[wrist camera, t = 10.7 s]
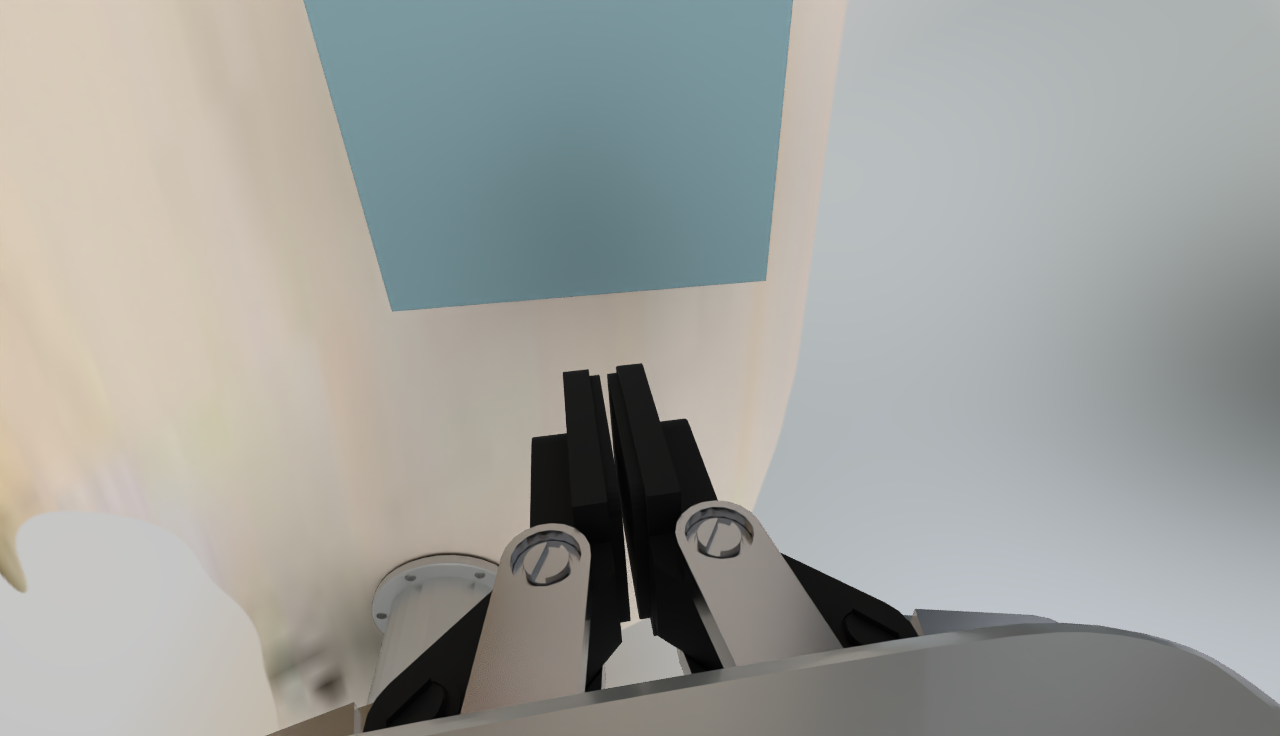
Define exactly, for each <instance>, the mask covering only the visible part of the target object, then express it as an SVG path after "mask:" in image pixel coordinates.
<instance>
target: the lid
mask: <svg viewBox="0 0 1280 736" xmlns="http://www.w3.org/2000/svg"><path fill="white" fill-rule="evenodd" d="M792 3H793V0H304V4H305V7H306V11H307V14H308V18H309V21H310V25H311V28H312V32H313V35H314V39H315V42H316V46H317V49H318V53H319V57H320V60H321V64H322V67H323V71H324V74H325V78H326V81H327V85H328V88H329V92H330V95H331V99H332V102H333V106H334V109H335V113H336V116H337V120H338V123H339V127H340V130H341V134H342V137H343V141H344V144H345V148H346V151H347V155H348V158H349V162H350V165H351V169H352V172H353V176H354V179H355V183H356V186H357V190H358V193H359V197H360V200H361V204H362V207H363V211H364V214H365V218H366V221H367V225H368V228H369V232H370V235H371V239H372V242H373V246H374V250H375V253H376V257H377V260H378V264H379V267H380V271H381V274H382V278H383V281H384V285H385V288H386V292H387V295H388V299H389V302H390V306H391V309H392V311H403V310H415V309H427V308H440V307H452V306H464V305H476V304H488V303H500V302H512V301H524V300H537V299H549V298H561V297H573V296H585V295H597V294H609V293H621V292H633V291H646V290H658V289H670V288H682V287H694V286H706V285H718V284H730V283H743V282H755V281H766V273H767V263H768V252H769V242H770V231H771V221H772V211H773V200H774V190H775V180H776V169H777V159H778V149H779V138H780V128H781V117H782V107H783V97H784V86H785V76H786V66H787V55H788V45H789V35H790V24H791V14H792Z"/></svg>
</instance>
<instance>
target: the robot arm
mask: <svg viewBox="0 0 1280 736" xmlns="http://www.w3.org/2000/svg"><path fill="white" fill-rule="evenodd" d="M607 379H608V391H609V403H610V415H611V427H612V438H613V450H614V458H613V452H612V446H611V440H610V434H609V428H608V423H607V417H606V411H605V405H604V399H603V393H602V388H601V382H600V376H599V375H594V376H589V370H588V369H587V370H578V371H570V372H563V383H564V397H565V412H566V427H567V433H565V434H557V435H549V436H541V437H533V438H532V451H531V503H530V529H527V530H525V531H523V532H522V533H521V534H519V535H518V536H516V537H515V538H514V539H513V540H512V541H511V542H510V543H509V544H508V545H507V547H506V548H505V550H504V552H503V555H502V557H501V560H500V563H499V567H498V566H497V565H495V564H493V563H490V562H487V561H485V560H482V559H478V558H473V557H469V556H459V555H439V556H432V557H426V558H422V559H419V560H415V561H412V562H409V563H407V564H405V565H403V566H401V567H398V568H397V569H395V570H394V571H393V572H391V573H390V574H388V575H387V576H386V577H385V578H384V579H383V581H382V582H381V583H380V584H379V586H378V588H377V590H376V592H375V596H374V599H373V603H372V616H373V619H374V622H375V624H376V625H377V627H378V629H379V630H380V631H381V632H382V633H383V634H384V638H383V642H382V646H381V650H380V654H379V658H378V662H377V665H376V669H375V673H374V677H373V681H372V685H371V689H370V693H369V697H368V701H367V705H366V706H364V707H361V708H357V706H356V704H355V703H351V704H348V705H346V706H343V707H340V708H338V709H335V710H332V711H330V712H327V713H325V714H322V715H319V716H317V717H314V718H311V719H309V720H306V721H303V722H301V723H298V724H296V725H293V726H290V727H288V728H285V729H282V730H280V731H277V732H274V733H272V734H269V735H267V736H1280V704H1278V703H1277V702H1275V700H1273V699H1272V698H1271V697H1269V696H1268V695H1267V694H1265V693H1264V692H1263V691H1261V690H1260V689H1259V688H1257V687H1256V686H1255V685H1253V684H1252V683H1251V682H1249V681H1248V680H1246V679H1245V678H1243V677H1242V676H1241V675H1239V674H1238V673H1236V672H1235V671H1233V670H1232V669H1230V668H1229V667H1226V666H1225V665H1223V664H1222V663H1220V662H1219V661H1217V660H1215V659H1214V658H1212V657H1210V656H1208V655H1205V654H1203V653H1201V652H1199V651H1197V650H1195V649H1192V648H1190V647H1187V646H1184V645H1181V644H1178V643H1175V642H1172V641H1169V640H1166V639H1162V638H1159V637H1155V636H1151V635H1147V634H1142V633H1138V632H1132V631H1127V630H1121V629H1116V628H1110V627H1105V626H1098V625H1084V624H1070V623H1058V622H1056V621H1054V620H1052V619H1049V618H1044V617H1039V616H1034V615H1021V614H1002V613H983V612H963V611H944V610H925V609H915V610H914V613H913V616H910V615H909V616H908V615H902V614H901V613H900V612H899V611H898V610H896V609H895V608H893V607H891V606H890V605H888V604H886V603H885V602H883V601H881V600H878V599H876V598H874V597H872V596H870V595H868V594H866V593H864V592H861V591H860V590H857V589H856V588H853V587H851V586H849V585H847V584H845V583H843V582H841V581H839V580H837V579H835V578H832V577H830V576H828V575H826V574H824V573H822V572H820V571H818V570H816V569H814V568H812V567H809V566H807V565H805V564H803V563H801V562H799V561H797V560H795V559H793V558H790V557H788V556H786V555H784V554H782V553H780V552H779V550H778V549H777V547H776V546H775V544H774V543H773V541H772V540H771V538H770V537H769V535H768V534H767V532H766V531H765V529H764V528H763V526H762V525H761V523H760V522H759V520H758V519H757V518H756V517H755V516H754V515H753V514H752V513H751V512H750V511H748V510H747V509H745V508H743V507H742V506H740V505H737V504H734V503H731V502H727V501H718V500H717V497H716V494H715V492H714V489H713V486H712V484H711V481H710V478H709V476H708V473H707V471H706V468H705V465H704V463H703V460H702V457H701V455H700V452H699V449H698V447H697V444H696V441H695V439H694V436H693V433H692V431H691V428H690V425H689V423H688V421H687V420H686V419H678V420H670V421H662V422H660V420H659V417H658V414H657V410H656V407H655V404H654V400H653V397H652V394H651V391H650V387H649V384H648V381H647V377H646V374H645V371H644V368H643V365H642V363H640V364H631V365H623V366H617V367H616V373H612V374H607ZM614 462H615V463H614ZM622 518H623V521H622ZM623 524H624V530H625V536H626V542H627V548H628V554H629V560H630V566H631V572H632V578H633V584H634V590H635V596H636V602H637V608H638V613H639V618H640V619H646V618H650V619H651V624H652V629H653V635H654V636H659V637H661V638H662V639H664V640H665V641H667V642H668V643H670V644H672V645H673V646H675V647H677V652H678V656H679V662H680V664H681V667H682V670H683V672H684V676H678V677H672V678H666V679H661V680H655V681H649V682H643V683H637V684H632V685H626V686H620V687H614V688H608V689H605V680H606V672H605V662H606V661H607V660H608V658H609V657H610V656H611V655H612V653H613V652H614V651H615V650H616V649H617V647H618V646H619V645H620V644H621V643H622V636H621V625H620V623H621V622H627V621H630V607H629V595H628V582H627V570H626V558H625V545H624V533H623Z"/></svg>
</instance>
